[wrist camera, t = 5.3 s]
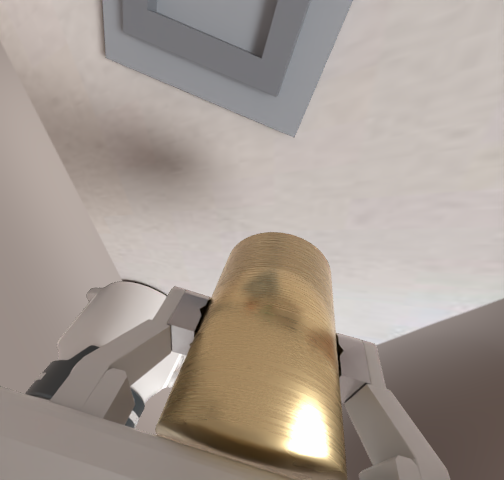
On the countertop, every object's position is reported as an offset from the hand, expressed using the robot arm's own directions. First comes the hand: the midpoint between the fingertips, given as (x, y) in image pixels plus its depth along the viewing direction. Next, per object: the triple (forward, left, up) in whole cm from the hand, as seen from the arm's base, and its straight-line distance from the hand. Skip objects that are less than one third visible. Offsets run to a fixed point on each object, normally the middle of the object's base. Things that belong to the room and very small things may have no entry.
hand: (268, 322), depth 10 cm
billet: (0, 0, -3) cm, 3 cm away
